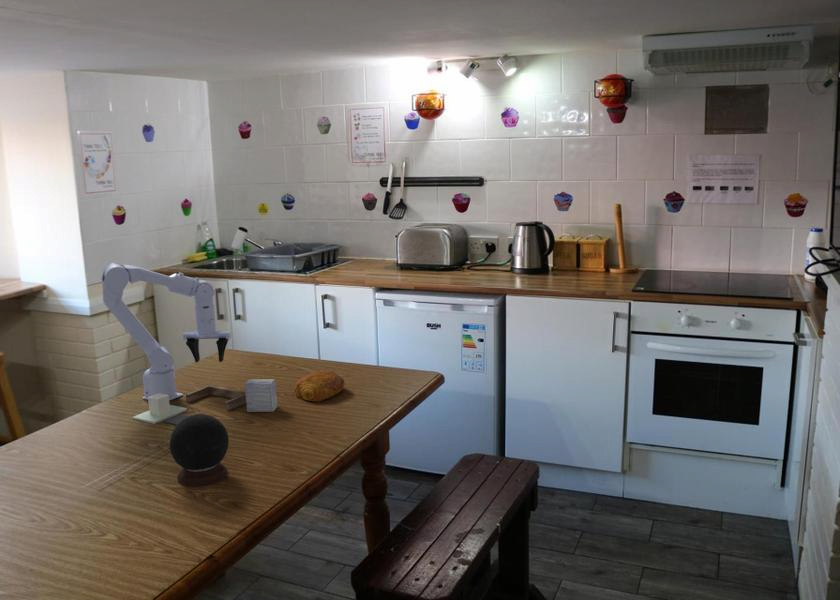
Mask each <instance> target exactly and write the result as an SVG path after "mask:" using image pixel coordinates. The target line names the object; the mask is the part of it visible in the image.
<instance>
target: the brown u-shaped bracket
mask: <svg viewBox="0 0 840 600" xmlns="http://www.w3.org/2000/svg"><path fill="white" fill-rule="evenodd" d="M209 395H212V396H217V397H221V398H226V399H227V398H228V400H226V401H224V403H225V404H224V405H225V411H228V412H229V411H232V410H233V409H235V408H237V407H239V406H242V405H244V404H246V393H245V390H244V391H243V390H237V389H232V388H228V387H227V388H226V387H222V386H221V387H220V386H215V385H212V384H211V385H210V384H209V385H206V386H204V387H201V388H198V389H196V390H194V391H191V392H188V393H185V397H186V403H187V404H189V403H191V402H194V401H197V400H199V399H201V398H204V397H207V396H209Z"/></svg>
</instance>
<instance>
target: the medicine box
mask: <svg viewBox="0 0 840 600" xmlns="http://www.w3.org/2000/svg"><path fill="white" fill-rule="evenodd" d="M276 385H277V384H276V379H274V378H273V379H272V378H271V379H270V378H266V379H265V378H264V379H263V378H261V379H259V378H258V379H257V378H256V379H255V378H254V379H252V378H251V379H249V380H247V381H246V383H245V384H244V389H245V390H244V392H245V393H246V403H245V404H246V411H247V412H248V413H252V412H253V413H260V412H261V413H265V412H267V413H269V412H270V413H273V412H274V411H275V410H276V409H277V408H278V399H277V398H278V396H277V387H276Z"/></svg>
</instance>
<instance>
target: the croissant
mask: <svg viewBox="0 0 840 600" xmlns="http://www.w3.org/2000/svg"><path fill="white" fill-rule="evenodd" d="M344 386H345V380H344V378H343V377H342V376H341V375H339V374H337V373H336V372H334V371H331V370H317V371H313V372H311V373H308V374H307V375H304V376H302V377H300V378H299V379H298V380H297V381H296V384H295V387H294V394H295V396H296V397H297V398H299V399H302V400H305V401H310V402H321V401H324V400H327V399H329V398H331V397H334V396H336V395H337V394H339V393H340V392H342V390H343V389H344Z"/></svg>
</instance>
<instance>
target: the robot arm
mask: <svg viewBox="0 0 840 600" xmlns="http://www.w3.org/2000/svg"><path fill="white" fill-rule="evenodd" d="M140 281H141V282H145V283H150V284H155V285H159V286H164V287H167V289H168V291H169V292H170V293H175V294H179V295H181V296H186V297H194V312H195V313H194V314H195V325H196V331H188V332H187V331H186V332H184V333H183V334H182V339H183V341H185V344H186V346H187V348H188V350H190V352H191V354H192V356H193V358H194V362H195V363H199V361H200V360H201V359H200V349H199V347H200V345H199V344H200V342H199V341H200V340H215V339H217V340H216V342H215V344H216V347H217V353H218V362H219V363H222V362H223V361H224V358H225V350H226V348H227V345H228V342H229V340H230V339H231V338H232V334H231V331H223V330H221V331H220V330H217V327H216V316H215V315H216V314H215V305H214V295H215V293H216V292H215V289H214V287H213V285H212V284H210V283H209V282H208V281H207V280H204V279H203V278H199V277H195V278H193V277H190V276H187V275H185V274H184V273H183V272H178V273H177V272H176V273H172V274H171V275H166V274H163V273H159V272H156V271H152V270H149V269H146V268H143V267H139V266H135V265H131V264H123V265H122V264H121V263H118V262H112V263H110V264H108V265H107V266H105V268H104V270H103V273H102V276H101V287H102V289H101V290H102V302H103V303H104V305H105V306H106V308H107V309H108V310H109V311H110V313H111V314H112V315H113V316H114V317H115V318H116V320H117V321H118V322H119V323H120V324H121V325H122V327H123V328H124V330H126V332H128V334H129V335H130V336H131V338H132V339H133V340H134V341H135V342H136V344H137V345H138V346H139V347H140V348H141V349H142V351H143V352H144V354H145V355H146V356H147V359H148V361H149V362H150V364H151V365H150V367H149V368H148V369H146V370H144V372H143V375H142V384H143V385H142V386H143V392H144V393H143V394H144V396H142V399H143V400H147V401H148V397H150V396H153V395H155V394H158V393H161V394H166V395H169V402H170V401H172V400H174V399H176V398H180V397H182V396H183V395H184V394H183V393H180V392H177V385H176V375H175V366H174V358H173V356H172V354H171V353H170V352H169V350H168V348H166V347H165V346H164V345H161V344H160V343H158V341H157V340H156V339H155V338H154V337H153V336H152V335H151V333H150V332H149V331H148V330H147V328H146V327H145V326H144V324H143V323H142V322H141V321H140V320H139V318H138V317H137V316H136V315H135V314H134V313H133V311H132V310H131V309H130V308H129V306H128V305H127V304H126V303H125V302H124V300H123V299H122V298H123V294H124V290H125V288H126V287H127V285H128V283H130V284H134V283H138V282H140Z"/></svg>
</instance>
